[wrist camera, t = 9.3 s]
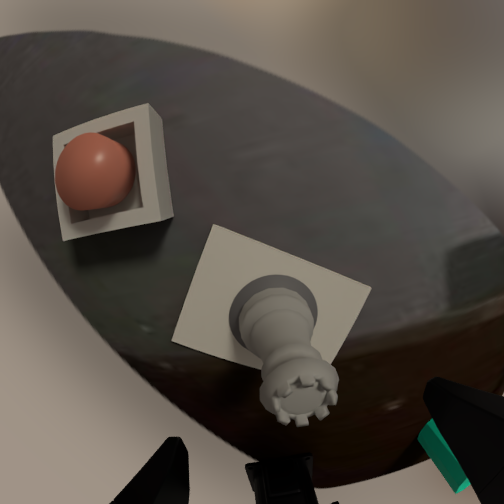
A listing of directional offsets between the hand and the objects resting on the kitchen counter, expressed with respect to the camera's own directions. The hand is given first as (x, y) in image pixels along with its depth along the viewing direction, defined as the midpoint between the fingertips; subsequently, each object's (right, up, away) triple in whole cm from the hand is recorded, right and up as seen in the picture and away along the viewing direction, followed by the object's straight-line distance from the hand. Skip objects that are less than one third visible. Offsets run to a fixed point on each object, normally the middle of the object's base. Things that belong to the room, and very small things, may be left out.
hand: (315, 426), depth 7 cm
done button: (-10, +10, +5) cm, 15 cm away
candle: (+21, -16, +15) cm, 30 cm away
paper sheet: (-1, +2, +10) cm, 10 cm away
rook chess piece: (-1, +2, +9) cm, 10 cm away
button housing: (-10, +10, +7) cm, 16 cm away
